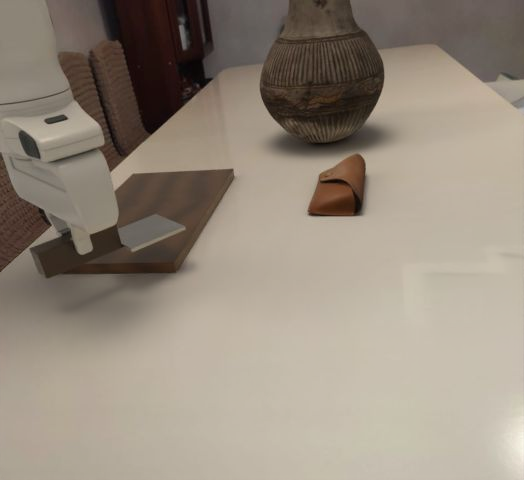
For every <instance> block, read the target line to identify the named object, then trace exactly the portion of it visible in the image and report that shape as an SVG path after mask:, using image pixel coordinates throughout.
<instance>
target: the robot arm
mask: <svg viewBox="0 0 524 480" xmlns="http://www.w3.org/2000/svg"><path fill="white" fill-rule="evenodd" d="M57 44H58V43H57V35H56V32H55V27H54V22H53V18H52V15H51V13H50V11H49V8H48V5H47V2H46V0H0V153H1V156H2V159H3V162H4V165H5V167H6V168H5V169H6V171H7V174H8V177H9V179H10V182H11V185H12V187H13V189H14V191H15V193H16V194H17V196H18V198H21V199H22V200H24V201H27V202H28V203H30V204H32V205H33V206H35V207H37V208H39V209H41V210H43V211H44V214H45V216H46V218H47V220H48V221H49V223H50V224H51V226H52V227H53V229H54V231H55V233H56V236H57V238H58V237H60V236H63V235H66V234H68V233H71V234H72V238H70V241H71V243H72V245H73V249H74V250H75V251H76V252H77V253H79V254H81V255H84V254H86V253H88V252H91V251H92V249H93V246H92V243H91V239H90V234H93V233H96V232H99V231H102V230H104V229H107V228H109V227H112V226H114V225H115V224H116V223H117V220H118V215H119V211H118V205H117V200H116V195H115V187H114V183H113V179H112V176H111V172H110V168H109V165H108V162H107V159H106V156H105V155H104V153H103V152H102V151H101V150H100V149H99V148H100V147H103V146H104V145H105V143H106V141H105V136H104V132H103V129H102V127H101V125H100V124H99V122H98V121H96V120H95V119H94V118H92V117H91V116H90V115H89V114H88V113H87V112H86V111H85V110H84V109H83V108H82V107H81V105H80V104H79V103H78V101H77V100H75V97H74V95H73V91H72V88H71V84H70V82H69V79H68V78H67V76H66V74H65V73H64V70H63V69H62V67H61V64H60V60H59V57H58V47H57V46H58V45H57Z"/></svg>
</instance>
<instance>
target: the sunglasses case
mask: <svg viewBox="0 0 524 480" xmlns="http://www.w3.org/2000/svg"><path fill="white" fill-rule="evenodd" d="M366 165H367V163H366V160H365V158H364V157H363V156H362V155H361V154H360V153H359V152H358V153H354V154H351V155H349V156H348V157H346V158H344V159H342V160H341V161H340V162H338V163H337V164H336V165H334V166H333V167H331V168H328V169H326V170H324V171H322V172H320V173H319V174H318V178H317V179H318V180H317V182H316V183H317V184H316V186H315V189H314V193H313V195H312V197H311V199H310V202H309V205H308V207H307V213H309V214H312V215H318V216H327V217H354V216H356V215H357V214H358V213H359V212H360V211H361V210H362V207H363V201H364V190H365V183H366V173H367V172H366V171H367V166H366Z"/></svg>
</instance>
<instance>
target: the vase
mask: <svg viewBox="0 0 524 480" xmlns="http://www.w3.org/2000/svg"><path fill="white" fill-rule="evenodd" d="M385 76H386V75H385V65H384V61H383V59H382V56H381V54H380V52H379V50H378V48H377V47H376V45H375V42H373V39H371V37H370V35H369V33H367V32H366V31H365V30H364V29H362V27H360V26H359V25H358V23H357V22H356V20H355V17H354V14H353V10H352V5H351V0H288V10H287V15H286V22H285V25H284V28H283V30H282V32H281V33H280V35H279V36H278V37H277V38H276V39H275V40H274V42H273V43H272V45H271V47H270V48H269V51H268V53H267V56H266V57H265V60H264V62H263V66H262V69H261V72H260V79H259V94H260V97H261V100H262V103H263V105H264V107H265V108H266V110H267V113H268V114H269V115H270V117H271V118H272V119H273V120H274V121H275V122H276V123H277V124H278V125H279V126H280V127H281V128H282V129H283V130H285V132H287V133H288V134H289V135H291V136H293V137H294V138H296V139H298V140H301V141H303V142H306V143H312V144H326V143H333V142H336V141H341V140H343V139H345V138H347V137H349V136H351V135H353V134H354V133H356V132H357V131H358V130H360V129H361V128H362V127H363V126H364V124H365V123H366V122H367V120H368V119H369V118H370V117H371V114H372V113H373V111H374V110H375V108H376V106H377V104H378V102H379V100H380V97H381V94H382V92H383V88H384V85H385Z"/></svg>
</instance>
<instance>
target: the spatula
mask: <svg viewBox="0 0 524 480" xmlns="http://www.w3.org/2000/svg"><path fill="white" fill-rule="evenodd" d="M184 230H186V229H185V226H183V225H181V224H179V223H176V222H174V221H171V220H169V219H167V218H164V217H162V216H160V215H157V214H154V215H152V216H149V217H147V218H144V219H142V220H139V221H137V222H134V223H132V224H129V225H127V226H124V227H121V228H119V229H117V226H116V224H115V225H114V226H112V227H109V228H107V229H104V230H102V231H99V232H96V233H93V234H90V239H91V243H92V246H93V249H92V251H91V252H88V253H86V254H84V255H81V254H79V253H77V252H76V251H75V250H74V249H73V245H72V243H71V241H70V238H72V234H71V233H68V234H66V235H63V236H60V237H58V236H57V237H54V238H52V239H50V240H48V241H44V242H42V243H39V244H36V245H35V246H31V247H29V248H28V249H29V252H30V255H31V257H32V259H33V262H34V265H35V268H36V270H37V272H38V274H39V275H41V276H42V277H43V278H45V279H46V280H48V279H50V278H53V277H55V276H58V275H61V274H60V273H63V272H65V271H68V270H70V269H72V268H75V267H77V266H80V265H82V264H84V263H87V262H89V261H91V260H94V259H96V258H99V257H101V256H103V255H106V254H108V253H111V252H113V251H115V250H118V249H120V248H122V247H123V248H125V249H127V250H129V251H131V252H134V251H137V250H139V249H142V248H144V247H146V246H149V245H151V244H153V243H156V242H158V241H160V240H163V239H165V238H167V237H170V236H172V235H174V234H177V233H179V232H181V231H184Z"/></svg>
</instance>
